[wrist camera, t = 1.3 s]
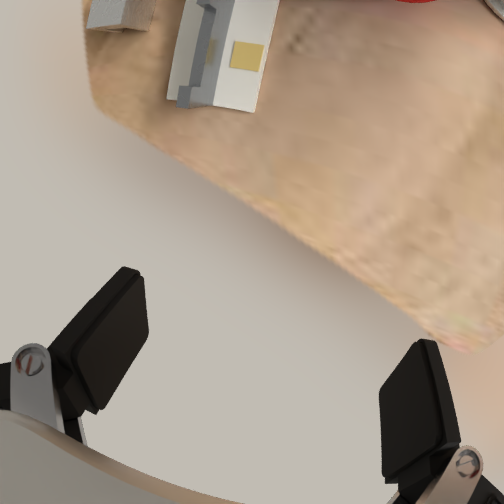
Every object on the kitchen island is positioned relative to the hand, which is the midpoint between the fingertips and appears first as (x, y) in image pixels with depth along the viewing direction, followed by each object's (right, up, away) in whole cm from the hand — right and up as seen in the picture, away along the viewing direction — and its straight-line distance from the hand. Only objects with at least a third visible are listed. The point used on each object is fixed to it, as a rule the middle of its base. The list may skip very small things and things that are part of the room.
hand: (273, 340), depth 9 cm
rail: (-3, +26, +16) cm, 31 cm away
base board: (-3, +26, +16) cm, 31 cm away
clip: (-15, +31, +15) cm, 38 cm away
